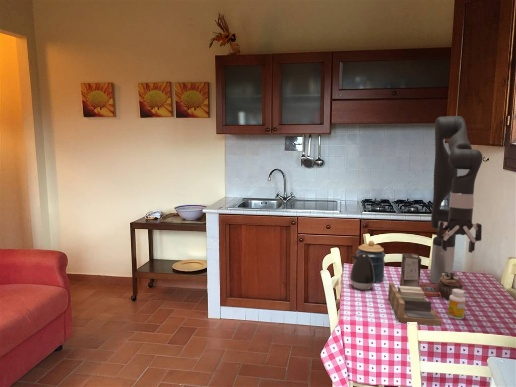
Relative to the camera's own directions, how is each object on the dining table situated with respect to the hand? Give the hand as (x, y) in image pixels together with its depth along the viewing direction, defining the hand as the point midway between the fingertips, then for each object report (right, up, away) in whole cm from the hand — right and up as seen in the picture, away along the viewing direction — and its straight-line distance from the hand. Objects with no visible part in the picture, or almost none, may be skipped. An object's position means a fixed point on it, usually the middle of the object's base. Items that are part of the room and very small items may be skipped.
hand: (457, 251), depth 150 cm
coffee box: (-8, -21, +25) cm, 34 cm away
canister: (-20, -19, +44) cm, 52 cm away
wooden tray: (-14, -23, +6) cm, 28 cm away
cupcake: (+8, -22, +23) cm, 33 cm away
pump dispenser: (-27, -20, +31) cm, 45 cm away
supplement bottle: (+1, -24, +3) cm, 25 cm away
